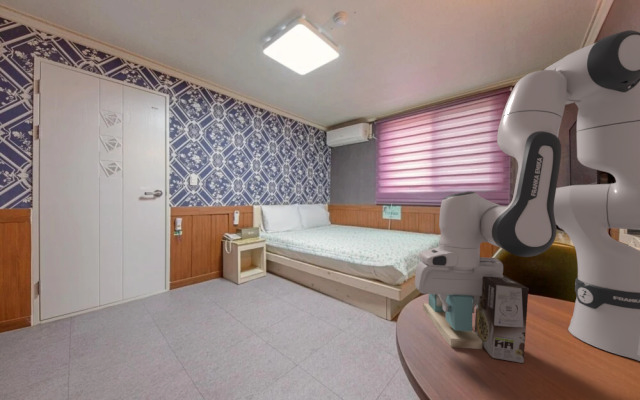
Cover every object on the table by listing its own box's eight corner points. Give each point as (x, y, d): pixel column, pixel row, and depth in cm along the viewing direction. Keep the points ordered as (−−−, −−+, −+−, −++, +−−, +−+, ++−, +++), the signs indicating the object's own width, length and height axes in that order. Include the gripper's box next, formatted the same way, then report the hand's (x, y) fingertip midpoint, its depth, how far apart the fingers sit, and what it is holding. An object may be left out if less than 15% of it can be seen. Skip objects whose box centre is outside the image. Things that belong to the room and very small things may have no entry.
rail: (446, 310, 73) (446, 278, 74) (482, 349, 55) (482, 306, 55) (423, 309, 74) (423, 278, 74) (450, 347, 55) (451, 304, 55)
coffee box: (525, 364, 50) (530, 288, 49) (491, 358, 51) (496, 284, 51) (501, 339, 59) (505, 274, 58) (473, 334, 60) (476, 271, 60)
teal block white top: (460, 319, 62) (460, 289, 62) (472, 331, 56) (472, 297, 56) (444, 318, 62) (444, 288, 62) (454, 330, 56) (454, 296, 57)
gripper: (494, 255, 61) (494, 308, 61) (413, 252, 63) (412, 303, 63) (512, 261, 55) (511, 320, 55) (421, 258, 57) (420, 315, 57)
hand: (457, 311), depth 59 cm, fingers closed on teal block white top, 4 cm apart
